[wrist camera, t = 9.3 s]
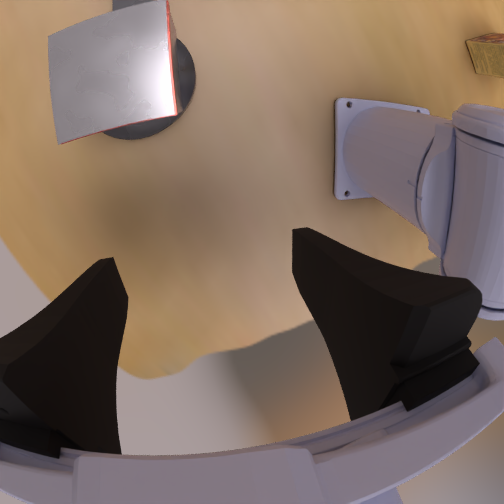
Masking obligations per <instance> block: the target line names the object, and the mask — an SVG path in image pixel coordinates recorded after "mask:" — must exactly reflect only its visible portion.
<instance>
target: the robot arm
mask: <svg viewBox="0 0 504 504" xmlns="http://www.w3.org/2000/svg"><path fill="white" fill-rule="evenodd" d="M347 102H349V103H350V106H349V108H348V107H347V106H346V103H347ZM417 111H418V112H417ZM335 129H336V144H335V187H334V195H335V197H336V198H337V199H339V200H346V199H357V198H368V197H375V198H376V199H378V200H379V201H381V202H382V203H384V204H385V205H387V206H388V207H389V208H391V209H392V210H394V211H395V212H397V213H398V214H399V215H401V216H402V217H403V218H405V219H406V220H408V221H409V222H410V223H412V224H413V225H414V226H416V227H417V228H418V229H420V230H421V231H422V232H424V233H425V234H426V235H427V236H428V240H429V250H430V251H432V252H433V253H434V254H435V255H436V256H437V257H439V258H440V259H441V261H440V266H439V275H434V274H429V273H423V272H418V271H414V270H410V269H406V268H402V267H399V266H395V265H392V264H389V263H386V262H383V261H380V260H377V259H375V258H372V257H369V256H367V255H365V254H362V253H360V252H358V251H356V250H353V249H351V248H349V247H347V246H345V245H343V244H341V243H339V242H337V241H335V240H333V239H331V238H329V237H327V236H325V235H323V234H321V233H319V232H317V231H315V230H313V229H310V228H308V227H306V228H299V229H292V273H293V276H294V279H295V281H296V284H297V287H298V289H299V292H300V294H301V296H302V298H303V299H304V301H305V303H306V305H307V307H308V309H309V311H310V312H311V314H312V316H313V318H314V320H315V322H316V324H317V325H318V327H319V329H320V331H321V333H322V335H323V337H324V339H325V342H326V344H327V347H328V349H329V352H330V355H331V357H332V360H333V363H334V366H335V369H336V372H337V374H338V377H339V380H340V384H341V387H342V390H343V393H344V397H345V400H346V404H347V407H348V412H349V415H350V419H351V421H350V422H347V423H344V424H341V425H339V426H335V427H332V428H329V429H326V430H322V431H319V432H316V433H312V434H309V435H305V436H301V437H297V438H293V439H289V440H285V441H281V442H275V443H271V444H266V445H261V446H255V447H250V448H243V449H236V450H230V451H222V452H213V453H202V454H188V455H160V456H159V455H158V456H149V455H147V456H146V455H122V453H121V447H120V441H119V434H118V424H117V411H116V376H117V366H118V359H119V354H120V349H121V344H122V339H123V334H124V329H125V324H126V319H127V310H128V295H127V293H126V290H125V288H124V285H123V282H122V280H121V277H120V275H119V272H118V269H117V266H116V264H115V261H114V258H113V257H111V258H105V259H100V260H99V261H97V262H96V263H94V264H93V265H92V266H91V267H90V268H88V269H87V270H86V271H85V272H84V273H83V274H82V275H81V276H80V277H79V278H77V279H76V280H75V281H74V282H73V283H72V284H71V285H70V286H69V287H68V288H67V289H66V290H65V291H63V292H62V293H61V294H60V295H59V296H58V297H57V298H56V299H55V300H54V301H52V302H51V303H50V304H49V305H48V306H47V307H46V308H44V309H43V310H42V311H40V312H39V313H38V314H36V315H35V316H34V317H32V318H31V319H30V320H28V321H27V322H25V323H24V324H22V325H21V326H20V327H18V328H17V329H15V330H13V331H12V332H10V333H9V334H7V335H5V336H3V337H2V338H0V491H2V492H4V493H6V494H8V495H10V496H12V497H14V498H16V499H18V500H21V501H23V502H25V503H27V504H403V503H402V500H401V498H400V496H399V493H398V491H397V488H396V487H397V486H399V485H401V484H403V483H405V482H407V481H408V480H410V479H412V478H414V477H416V476H417V475H419V474H421V473H422V472H424V471H426V470H428V469H429V468H431V467H433V466H434V465H436V464H437V463H439V462H440V461H442V460H443V459H445V458H446V457H448V456H449V455H451V454H452V453H454V452H455V451H456V450H458V449H459V448H461V447H462V446H463V445H465V444H466V443H467V442H469V441H470V440H471V439H472V438H474V437H475V436H476V435H477V434H479V433H480V432H481V431H482V430H483V429H485V428H486V427H487V426H488V425H489V424H491V423H492V422H493V421H494V420H495V419H496V418H497V417H498V416H499V415H500V414H502V413H503V412H504V346H503V345H502V343H501V342H500V341H499V340H498V339H497V338H496V337H494V338H493V339H491V340H490V341H488V342H487V343H486V344H484V345H482V346H481V347H480V348H478V349H477V350H476V351H475V352H474V353H473V354H472V352H471V351H470V350H469V347H470V346H471V341H470V340H469V339H468V337H467V335H468V333H469V331H470V329H471V327H472V325H473V323H474V322H475V320H476V318H477V317H479V318H483V319H487V320H504V109H501V108H496V107H491V106H486V105H479V104H463V105H461V106H460V107H459V108H458V110H455V111H454V112H453V113H452V120H449V119H445V118H441V117H436V116H432V115H430V112H429V110H428V109H426V108H421V107H415V106H410V105H403V104H397V103H390V102H382V101H373V100H364V99H352V98H338V99H337V100H336V101H335ZM346 191H348V193H347V195H345V192H346Z"/></svg>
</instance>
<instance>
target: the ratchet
mask: <svg viewBox="0 0 504 504" xmlns="http://www.w3.org/2000/svg"><path fill="white" fill-rule="evenodd" d="M151 1H156V0H113V11H115V10H119V9H122V8H126V7H130V6H134V5H138V4H142V3H147V2H151ZM176 39H177V38H176ZM177 53H178V66H179V77H180V88H181V98H182V108H183V111H182V112H180V113H178V115H175V116H169V117H164V118H158V119H153V120H148V121H144V122H139V123H135V124H130V125H126V126H122V127H118V128H114V129H110V130H106V131H103V133H105V134H107V135H109V136H112V137H114V138H119V139H126V140H132V139H141V138H145V137H149V136H151V135H154V134H156V133H158V132H160V131H162V130H164V129H165V128H166V127H168V126H169V125H171V124H172V123H173V122H175V121H176V120H177V119H178V118H179V117H180V116H181V115H182V114H183V113H184V111H185V110H186V109H187V107H188V105H189V104H190V102H191V99H192V97H193V94H194V90H195V84H196V74H195V68H194V63H193V60H192V57H191V55H190V53H189V51H188V50H187V48H186V47H185V45H184V44H183V43H182V42H181V41H180V40H178V39H177Z"/></svg>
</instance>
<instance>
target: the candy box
mask: <svg viewBox="0 0 504 504" xmlns="http://www.w3.org/2000/svg"><path fill="white" fill-rule="evenodd" d="M466 44H467V47H468V49H469V52H470V55H471V58H472V61H473V64H474V67H475V70H476V73H477V74H483V75H489V76H494V77H500V78H504V34H502V33H493V34H489V35H485V36H481V37H478V38H474V39H471V40H467V41H466Z"/></svg>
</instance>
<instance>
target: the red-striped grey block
mask: <svg viewBox="0 0 504 504" xmlns="http://www.w3.org/2000/svg"><path fill="white" fill-rule="evenodd" d="M48 57H49V78H50V90H51V100H52V108H53V116H54V123H55V129H56V135H57V141H58V145H59V144H64V143H67V142H70V141H73V140H76V139H79V138H82V137H86V136H89V135H92V134H96V133H99V132H103V131H106V130H110V129H114V128H118V127H122V126H126V125H130V124H135V123H139V122H144V121H148V120H153V119H158V118H164V117H169V116H175V115H178V113H180V112H182V111H183V108H182V98H181V88H180V77H179V66H178V53H177V39H176V29H175V26H174V23H173V20H172V16H171V13H170V7H169V2H168V1H166V0H156V1H151V2H147V3H142V4H138V5H134V6H130V7H126V8H122V9H119V10H115V11H112V12H109V13H106V14H103V15H99V16H97V17H94V18H91V19H88V20H85V21H83V22H80V23H77V24H75V25H72V26H70V27H68V28H65V29H63V30H61V31H58V32H56V33H54V34H52V35H50V36H48Z"/></svg>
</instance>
